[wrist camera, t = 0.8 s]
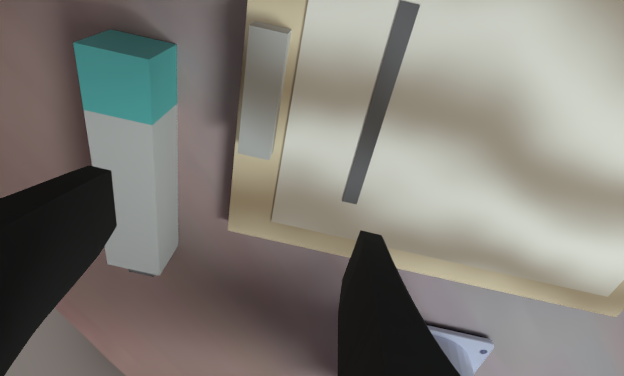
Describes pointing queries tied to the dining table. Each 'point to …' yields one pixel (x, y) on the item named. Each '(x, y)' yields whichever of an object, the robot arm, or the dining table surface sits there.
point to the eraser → (134, 141)
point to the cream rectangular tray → (441, 138)
